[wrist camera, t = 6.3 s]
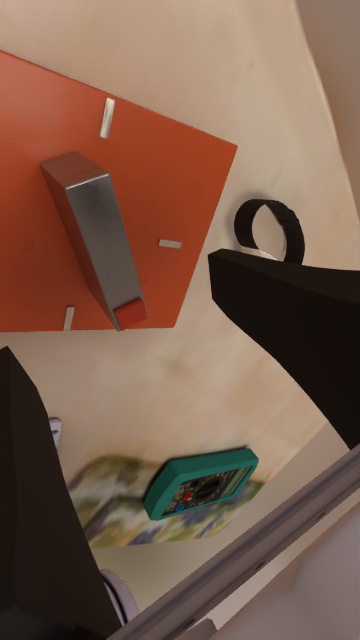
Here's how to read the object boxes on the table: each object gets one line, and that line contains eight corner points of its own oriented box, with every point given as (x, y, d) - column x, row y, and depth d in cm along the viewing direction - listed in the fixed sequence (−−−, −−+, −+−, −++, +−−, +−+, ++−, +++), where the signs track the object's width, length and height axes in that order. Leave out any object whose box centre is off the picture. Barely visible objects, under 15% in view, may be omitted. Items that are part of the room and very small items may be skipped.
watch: (211, 232, 23) (245, 253, 21) (255, 173, 23) (296, 188, 20) (262, 279, 29) (293, 301, 26) (299, 233, 28) (335, 251, 26)
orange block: (205, 136, 20) (240, 146, 17) (153, 304, 24) (175, 329, 22) (-121, 6, 11) (-132, -4, 9) (-104, 300, 16) (-108, 338, 14)
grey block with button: (38, 162, 13) (65, 189, 11) (77, 150, 14) (112, 173, 11) (91, 293, 18) (120, 336, 15) (119, 281, 18) (152, 320, 16)
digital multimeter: (163, 458, 37) (177, 481, 35) (249, 444, 46) (264, 462, 44) (136, 503, 39) (147, 528, 37) (223, 481, 49) (236, 500, 47)
